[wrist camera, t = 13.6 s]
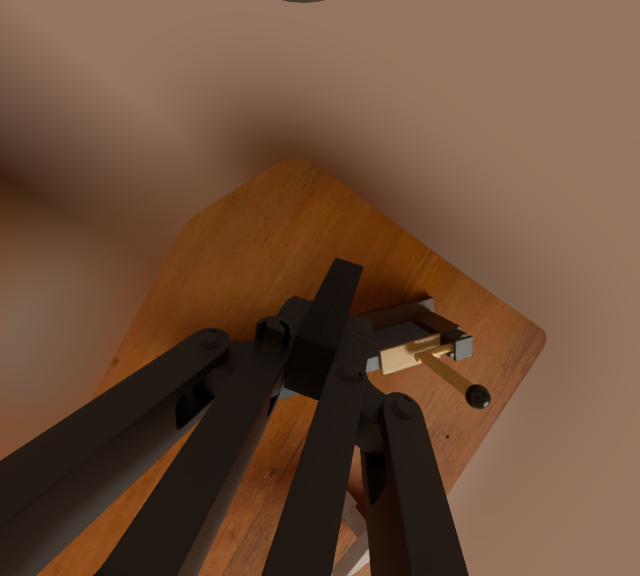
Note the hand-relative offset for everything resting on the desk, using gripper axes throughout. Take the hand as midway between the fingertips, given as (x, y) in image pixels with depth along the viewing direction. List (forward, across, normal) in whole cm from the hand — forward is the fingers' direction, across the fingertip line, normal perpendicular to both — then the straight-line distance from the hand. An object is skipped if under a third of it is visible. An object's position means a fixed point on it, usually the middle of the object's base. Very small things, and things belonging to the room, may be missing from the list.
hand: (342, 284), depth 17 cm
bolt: (+18, +13, -15) cm, 27 cm away
